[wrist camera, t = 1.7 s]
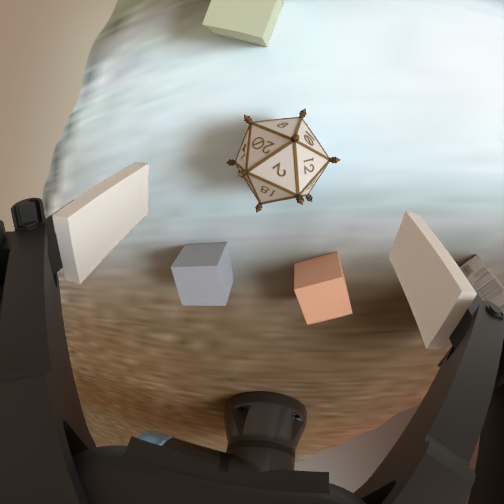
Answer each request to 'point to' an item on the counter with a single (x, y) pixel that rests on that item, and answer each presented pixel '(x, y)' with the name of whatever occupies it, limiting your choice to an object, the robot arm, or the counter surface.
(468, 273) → the coffee box
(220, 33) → the sage cube
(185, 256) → the slate cube
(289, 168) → the game die
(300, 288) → the terracotta cube
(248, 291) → the counter surface
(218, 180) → the counter surface
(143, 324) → the counter surface
